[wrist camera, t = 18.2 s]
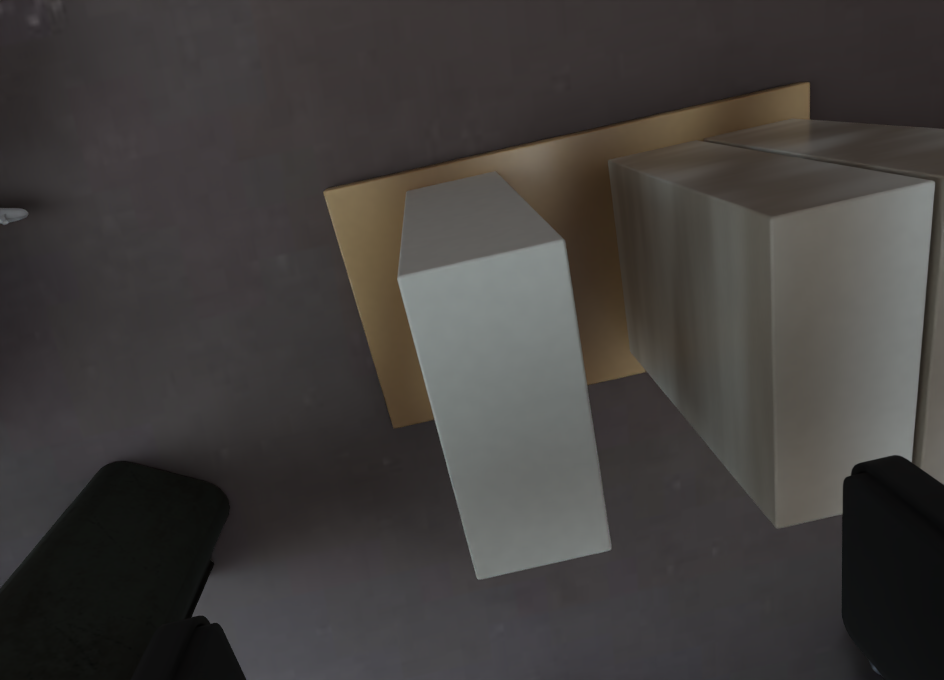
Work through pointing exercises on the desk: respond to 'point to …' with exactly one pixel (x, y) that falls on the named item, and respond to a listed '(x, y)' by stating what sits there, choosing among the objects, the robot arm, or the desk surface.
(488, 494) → the white rectangular block
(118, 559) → the candle
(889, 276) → the wooden stand
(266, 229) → the desk surface
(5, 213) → the figurine
